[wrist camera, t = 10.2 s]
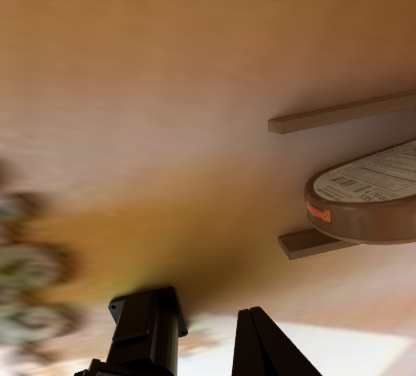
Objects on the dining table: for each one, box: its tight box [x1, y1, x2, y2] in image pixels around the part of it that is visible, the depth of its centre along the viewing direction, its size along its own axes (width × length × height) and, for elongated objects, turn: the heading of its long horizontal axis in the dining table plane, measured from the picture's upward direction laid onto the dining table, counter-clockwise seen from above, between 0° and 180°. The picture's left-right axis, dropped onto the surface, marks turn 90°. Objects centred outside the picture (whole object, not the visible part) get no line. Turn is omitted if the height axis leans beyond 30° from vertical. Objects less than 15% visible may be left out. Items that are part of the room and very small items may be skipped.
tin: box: [304, 139, 416, 245], centre depth 15 cm, size 15×3×8 cm, turn 108°
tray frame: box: [268, 90, 416, 260], centre depth 18 cm, size 12×18×2 cm, turn 101°
